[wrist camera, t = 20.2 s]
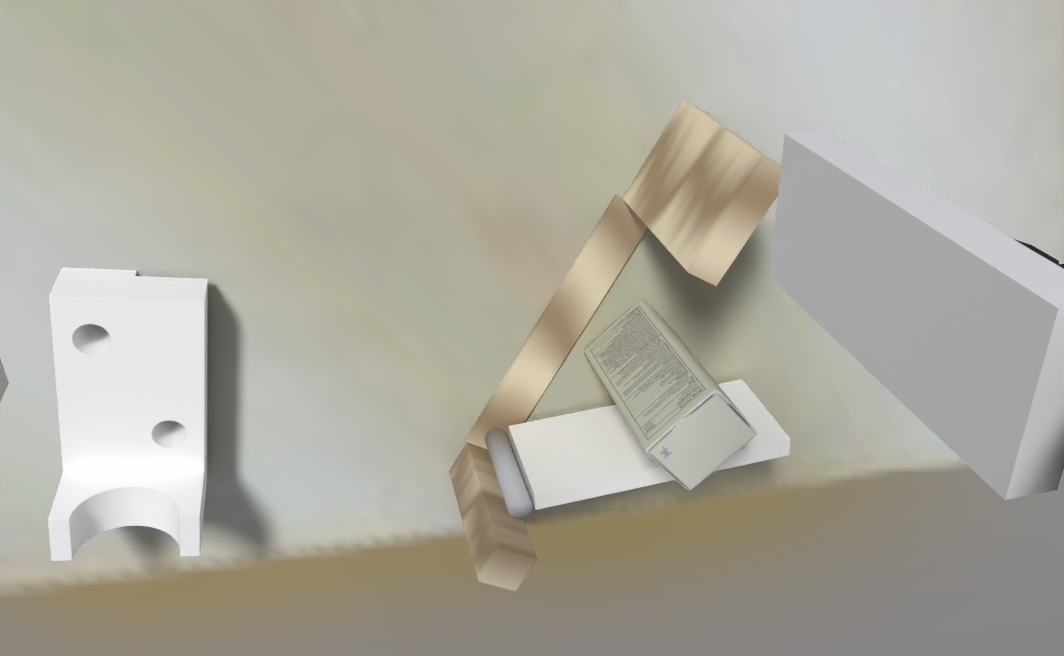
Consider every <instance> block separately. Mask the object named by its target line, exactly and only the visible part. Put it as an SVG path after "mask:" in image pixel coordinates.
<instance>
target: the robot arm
mask: <svg viewBox="0 0 1064 656" xmlns="http://www.w3.org/2000/svg"><path fill="white" fill-rule="evenodd" d="M769 278H770V279H771V280H772V281H773V282H775V283H776V284H777V285H778V286H779V287H780V288H781V289H782V290H783V291H784V292H785V293H786V294H787V295H788V296H789V297H790V298H791V299H793V300H794V301H795V302H796V303H797V304H798V305H799V306H800V307H801V308H802V309H803V310H804V311H805V312H806V313H807V314H808V315H809V316H811V317H812V318H813V319H814V320H815V321H816V322H817V323H818V324H819V325H820V326H821V327H822V328H823V329H824V330H825V331H826V332H827V333H829V334H830V335H831V336H832V337H833V338H834V339H835V340H836V341H837V342H838V343H839V344H840V345H841V346H842V347H843V348H844V349H846V350H847V351H848V352H849V353H850V354H851V355H852V356H853V357H854V358H855V359H856V360H857V361H858V362H859V363H860V364H861V365H862V366H864V367H865V368H866V369H867V370H868V371H869V372H870V373H871V374H872V375H873V376H874V377H875V378H876V379H877V380H878V381H879V382H880V383H882V384H883V385H884V386H885V387H886V388H887V389H888V390H889V391H890V392H891V393H892V394H893V395H894V396H895V397H896V398H897V399H899V400H900V401H901V402H902V403H903V404H904V405H905V406H906V407H907V408H908V409H909V410H910V411H911V412H912V413H913V414H914V415H915V416H917V417H918V418H919V419H920V420H921V421H922V422H923V423H924V424H925V425H926V426H927V427H928V428H929V429H930V430H931V431H932V432H933V433H935V434H936V435H937V436H938V437H939V438H940V439H941V440H942V441H943V442H944V443H945V444H946V445H947V446H948V447H949V448H950V449H951V450H953V451H954V452H955V453H956V454H957V455H958V456H959V457H960V458H961V459H962V460H963V461H964V462H965V463H966V464H967V465H968V466H970V467H971V468H972V469H973V470H974V471H975V472H976V473H977V474H978V475H979V476H980V477H981V478H982V479H983V480H984V481H985V482H986V483H988V484H989V485H990V486H991V487H992V488H993V489H994V490H995V491H996V492H997V493H998V494H999V495H1000V496H1001V497H1002V498H1003V499H1005V500H1007V499H1012V498H1017V497H1022V496H1027V495H1032V494H1037V493H1042V492H1047V491H1052V490H1057V488H1058V485H1059V482H1060V478H1061V475H1062V472H1063V469H1064V264H1060V265H1059V261H1058V260H1056V259H1055V258H1053V257H1051V256H1049V255H1048V254H1046V253H1044V252H1043V251H1041V250H1039V249H1037V248H1036V247H1034V246H1032V245H1029V244H1026V243H1024V242H1021V241H1018V240H1015V239H1012V238H1010V237H1009V236H1007V235H1005V234H1003V233H1002V232H1000V231H998V230H997V229H995V228H993V227H991V226H990V225H988V224H986V223H985V222H983V221H981V220H979V219H978V218H976V217H974V216H973V215H971V214H969V213H968V212H966V211H964V210H962V209H961V208H959V207H957V206H956V205H954V204H952V203H950V202H949V201H947V200H945V199H944V198H942V197H940V196H938V195H937V194H935V193H933V192H932V191H930V190H928V189H927V188H925V187H923V186H921V185H920V184H918V183H916V182H915V181H913V180H911V179H909V178H908V177H906V176H904V175H903V174H901V173H899V172H897V171H896V170H894V169H892V168H891V167H889V166H887V165H885V164H884V163H882V162H880V161H879V160H877V159H875V158H874V157H872V156H870V155H868V154H867V153H865V152H863V151H862V150H860V149H858V148H856V147H855V146H853V145H851V144H850V143H848V142H846V141H844V140H843V139H841V138H839V137H838V136H836V135H834V134H833V133H831V132H829V131H827V130H826V129H823V130H814V131H804V132H795V133H786V134H785V136H784V145H783V154H782V164H781V173H780V182H779V191H778V201H777V210H776V219H775V228H774V237H773V247H772V256H771V265H770V274H769ZM8 383H9V382H8V380H7V377H6V374H5V371H4V368H3V365H2V362H1V360H0V401H1V399H2V397H3V395H4V392H5V390H6V388H7V385H8Z"/></svg>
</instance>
